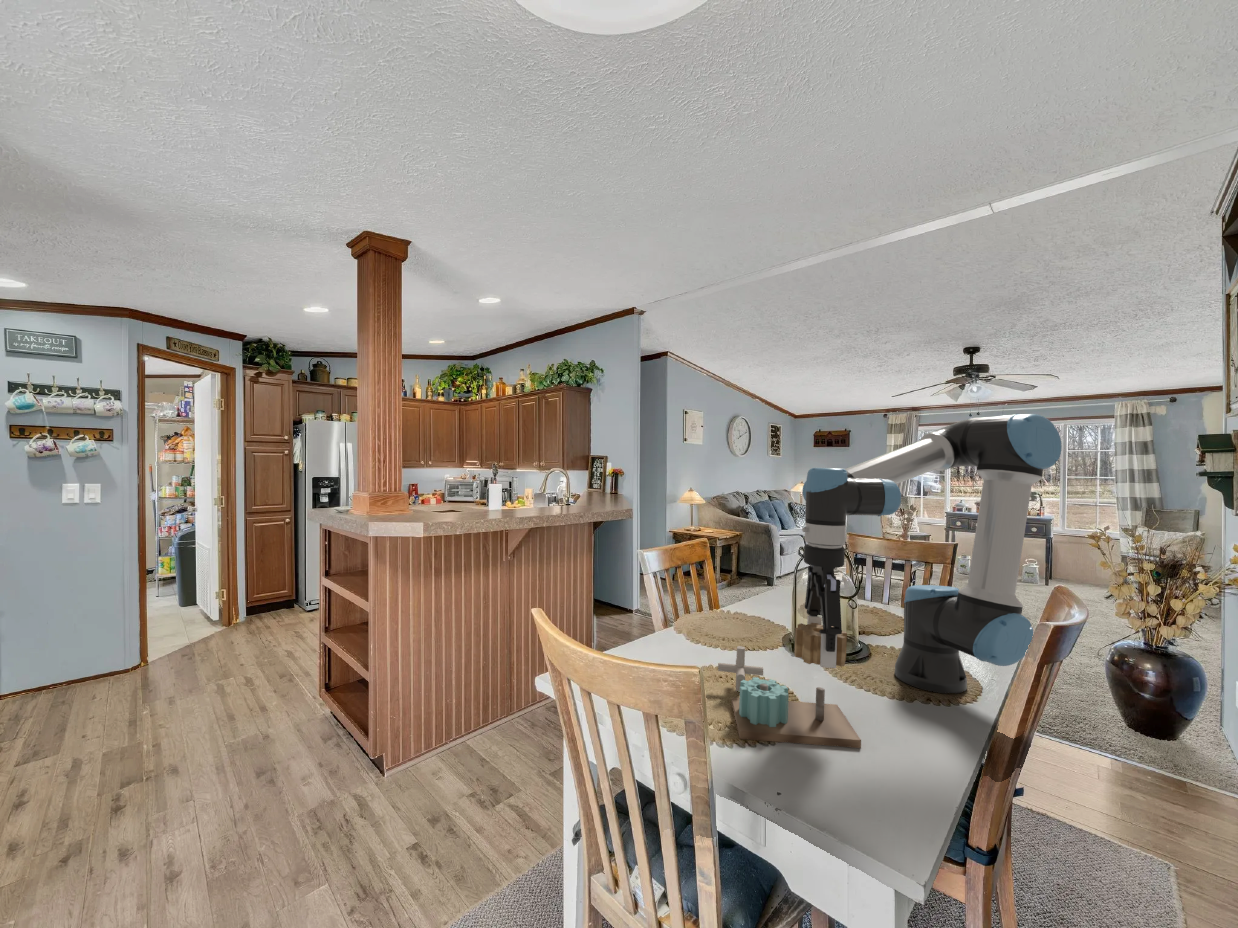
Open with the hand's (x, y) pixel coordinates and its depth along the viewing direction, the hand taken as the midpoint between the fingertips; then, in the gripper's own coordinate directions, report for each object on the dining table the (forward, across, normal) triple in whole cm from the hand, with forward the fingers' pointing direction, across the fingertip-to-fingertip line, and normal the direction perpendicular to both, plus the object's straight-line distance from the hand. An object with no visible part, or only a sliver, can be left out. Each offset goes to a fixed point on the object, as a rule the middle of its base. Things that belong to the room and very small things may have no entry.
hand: (820, 656), depth 103 cm
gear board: (+14, 0, -5) cm, 15 cm away
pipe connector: (+14, -13, -14) cm, 24 cm away
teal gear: (+12, 0, -11) cm, 16 cm away
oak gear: (0, 0, 0) cm, 0 cm away
